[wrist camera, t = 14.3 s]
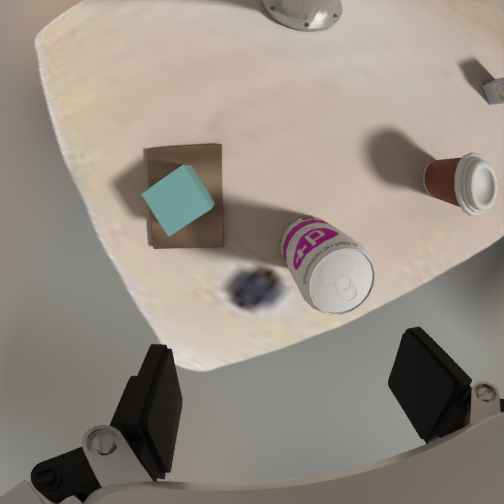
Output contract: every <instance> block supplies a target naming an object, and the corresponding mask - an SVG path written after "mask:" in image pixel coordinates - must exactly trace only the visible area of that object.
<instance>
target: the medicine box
mask: <svg viewBox="0 0 504 504" xmlns="http://www.w3.org/2000/svg"><path fill="white" fill-rule="evenodd" d="M482 88H483V90H484V92H485V95H486V97H487V100H488V102H489V104H490V105H492V104H502V103H504V78H498V79H495V80H493V81H491V82H488V83H486V84H484V85H482Z"/></svg>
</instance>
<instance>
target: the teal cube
mask: <svg viewBox="0 0 504 504" xmlns="http://www.w3.org/2000/svg"><path fill="white" fill-rule="evenodd" d="M141 195H142V196H143V198H144V199H145V201H146V203H147V204H148V206H149V207H150V209H151V210H152V212H153V213H154V215H155V217H156V218H157V220H158V221H159V223H160V224H161V226H162V227H163V229H164V230H165V232H166V233H167V235H168V236H171V235H172V234H174V233H175V232H177V231H178V230H180V229H181V228H183V227H184V226H186V225H187V224H189V223H190V222H192V221H194V220H195V219H197V218H198V217H200V216H201V215H203V214H204V213H206V212H208V211H209V210H211V209H212V208H213V206H214V205H215V202H214V200H213V198H212V197H211V195H210V194H209V192H208V191H207V189H206V187H205V186H204V184H203V183H202V181H201V180H200V178H199V176H198V175H197V173H196V172H195V170H194V169H193V167H192V166H190V165H182V166H181V167H179V168H178V169H176V170H175V171H173V172H172V173H170V174H169V175H167V176H166V177H165V178H163V179H162V180H160V181H159V182H157V183H156V184H155V185H153V186H152V187H150V188H149V189H148V190H146V191H145V192H144V193H142V194H141Z"/></svg>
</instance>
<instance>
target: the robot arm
mask: <svg viewBox="0 0 504 504" xmlns="http://www.w3.org/2000/svg"><path fill="white" fill-rule="evenodd" d="M262 3H263V6H264V8H265V9H266V11H267V12H268V13H269V14H270V15H271V16H272V17H273V18H274V19H275V20H277V21H278V22H280V23H282V24H283V25H286V26H288V27H291V28H294V29H297V30H303V31H321V30H325V29H328V28H330V27H332V26H333V25H334V24H335V23H337V21H338V20H339V19H340V17H341V14H342V4H341V1H340V0H262ZM471 382H472V379H471V378H470V377H469V376H468V375H467V374H466V373H465V372H464V371H463V370H462V369H461V368H460V367H459V366H458V364H457V363H455V361H454V360H453V359H452V358H451V357H450V356H449V355H448V354H447V353H446V352H445V351H444V350H443V349H442V348H441V347H440V346H439V345H438V344H437V343H436V342H435V341H434V340H433V339H432V338H431V337H430V336H429V335H428V334H427V333H426V332H425V331H424V330H423V329H422V328H420V327H414V328H409V329H407V330H406V331H405V333H404V334H403V335H402V339H401V342H400V346H399V349H398V352H397V355H396V359H395V362H394V365H393V368H392V371H391V374H390V377H389V380H388V385H389V388H390V389H391V391H392V392H393V394H394V396H395V397H396V399H397V401H398V402H399V404H400V405H401V407H402V409H403V410H404V412H405V414H406V415H407V417H408V418H409V420H410V422H411V423H412V425H413V427H414V428H415V430H416V432H417V433H418V435H419V437H420V438H421V439H424V441H425V442H426V445H423V446H421V447H418V448H415V449H413V450H410V451H408V452H405V453H402V454H399V455H396V456H393V457H390V458H387V459H384V460H380V461H377V462H374V463H370V464H367V465H363V466H359V467H355V468H351V469H347V470H343V471H338V472H333V473H328V474H323V475H317V476H311V477H305V478H297V479H290V480H281V481H270V482H254V483H191V482H169V481H157V478H158V479H165V475H166V472H167V473H169V472H171V467H172V461H173V455H174V449H175V443H176V437H177V432H178V426H179V420H180V414H181V410H182V395H181V391H180V386H179V382H178V377H177V372H176V368H175V363H174V357H173V352H172V349H167V346H166V345H161V344H151V345H150V348H149V350H148V352H147V354H146V357H145V359H144V361H143V364H142V366H141V369H140V371H139V373H138V376H131V377H130V379H129V381H128V383H127V385H126V388H125V390H124V392H123V394H122V397H121V399H120V402H119V404H118V406H117V409H116V411H115V413H114V416H113V418H112V421H111V423H110V426H108V425H99V426H95V427H93V428H91V429H89V430H88V431H87V432H86V433H85V434H84V436H83V438H82V447H80V448H77V449H75V450H72V451H70V452H67V453H65V454H62V455H59V456H57V457H54V458H52V459H49V460H46V461H43V462H41V463H39V464H37V465H36V466H35V467H34V468H33V470H32V472H31V480H30V481H29V482H26V481H25V480H24V481H23V482H21V483H20V484H19V485H17V486H16V487H14V488H13V489H11V490H10V491H9V492H7V493H6V494H4V495H3V496H1V497H0V504H504V399H500V397H499V392H498V390H497V388H496V387H495V386H494V385H492V384H490V383H488V382H482V381H481V382H477V383H475V384H474V385H473V387H472V388H471V386H470V384H471ZM438 437H439V439H438Z"/></svg>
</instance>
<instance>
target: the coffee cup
mask: <svg viewBox="0 0 504 504" xmlns="http://www.w3.org/2000/svg"><path fill="white" fill-rule="evenodd" d="M423 185H424V188H425V190H426V192H427V193H428V194H429V195H430V196H432V197H434V198H437V199H440V200H443V201H445V202H448V203H451V204H453V205H456V206H459V207H461V209H462V210H463V211H464V212H465V213H467V214H468V215H470V216H479V215H481V214H482V213H484V212H485V211H487V210H488V209H489V208H491V206H492V205H493V203H494V201H495V198H496V194H497V180H496V175H495V172H494V170H493V168H492V166H491V165H490V164H489V163H488V162H487V161H486V160H485V159H484V158H483V157H482V156H481V155H480V154H476V153H468V154H466V155H464V156H463V157H462V158H453V159H443V160H433V161H431V162H428V164H427V165H426V166H425V168H424V171H423Z"/></svg>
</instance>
